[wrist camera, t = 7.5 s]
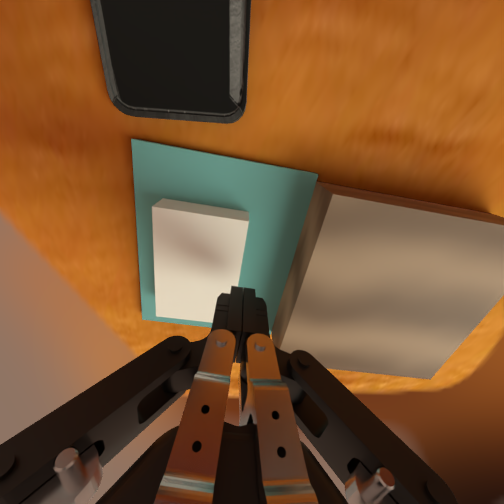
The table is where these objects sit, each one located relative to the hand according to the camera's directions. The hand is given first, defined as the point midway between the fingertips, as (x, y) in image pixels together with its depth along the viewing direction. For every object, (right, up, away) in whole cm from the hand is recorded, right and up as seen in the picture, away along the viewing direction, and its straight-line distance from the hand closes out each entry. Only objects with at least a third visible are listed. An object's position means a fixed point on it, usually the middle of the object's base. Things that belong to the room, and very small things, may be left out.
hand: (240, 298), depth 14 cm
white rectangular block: (-3, +2, +3) cm, 5 cm away
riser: (+11, +1, +5) cm, 12 cm away
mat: (-2, +3, +4) cm, 5 cm away
